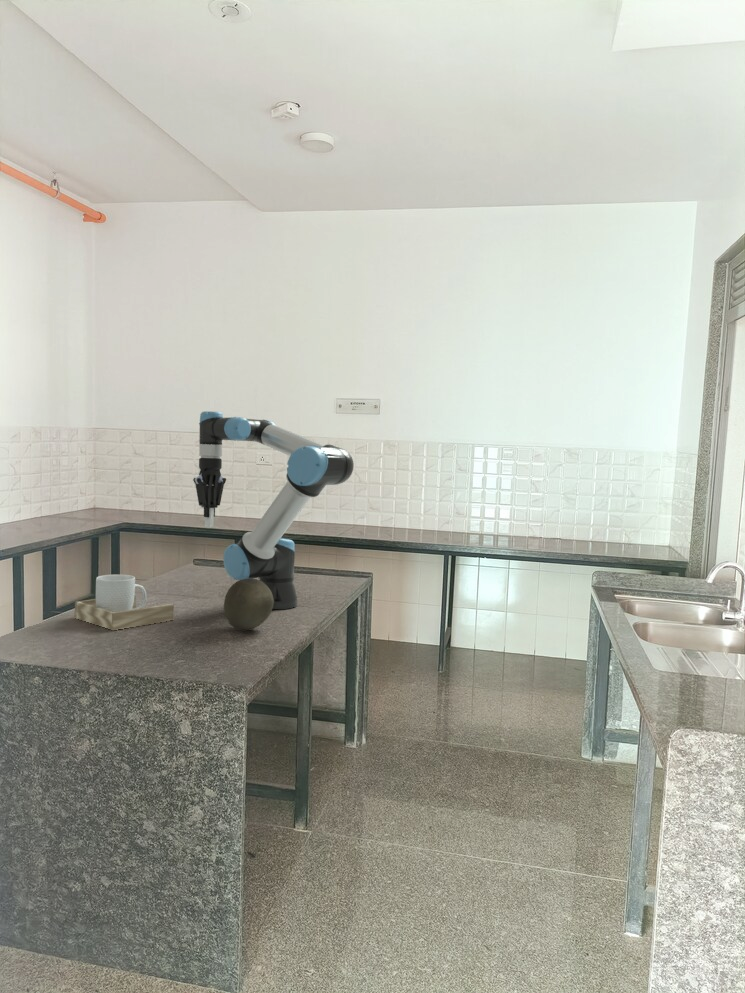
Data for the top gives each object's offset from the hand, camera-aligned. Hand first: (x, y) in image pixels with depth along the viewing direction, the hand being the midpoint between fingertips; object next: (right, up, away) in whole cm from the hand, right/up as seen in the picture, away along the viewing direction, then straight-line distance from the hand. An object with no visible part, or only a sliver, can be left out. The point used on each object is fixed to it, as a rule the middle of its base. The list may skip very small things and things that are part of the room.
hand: (209, 526), depth 249 cm
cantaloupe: (+19, -29, -35) cm, 49 cm away
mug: (-20, -27, -30) cm, 45 cm away
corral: (-19, -27, -29) cm, 44 cm away
